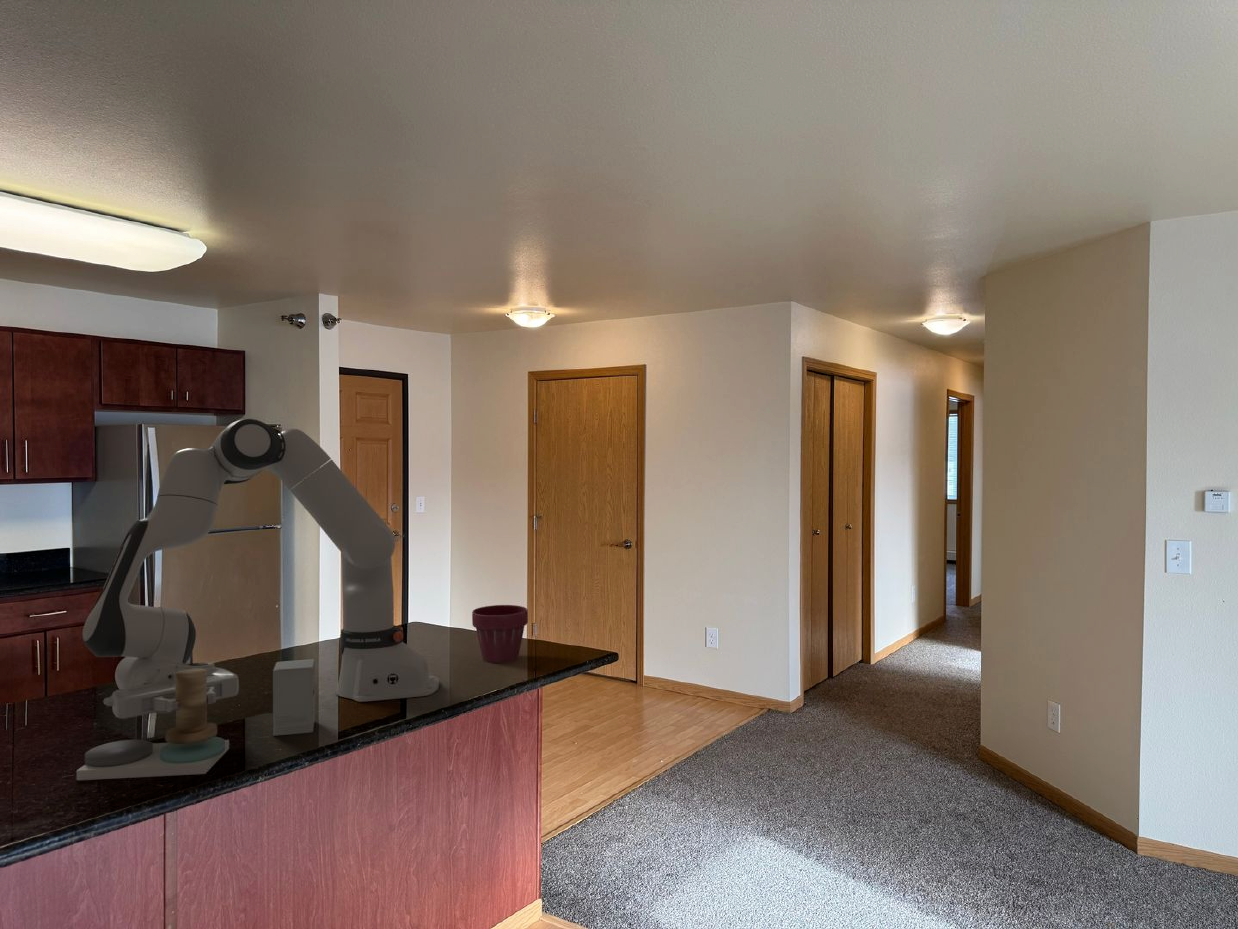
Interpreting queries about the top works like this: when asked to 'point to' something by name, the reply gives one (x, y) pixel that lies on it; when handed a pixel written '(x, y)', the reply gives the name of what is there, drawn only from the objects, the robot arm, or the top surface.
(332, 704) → the top surface
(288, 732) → the supplement box
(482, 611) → the plant pot
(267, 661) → the top surface
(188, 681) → the brown cylinder round base
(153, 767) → the double oval pad board
